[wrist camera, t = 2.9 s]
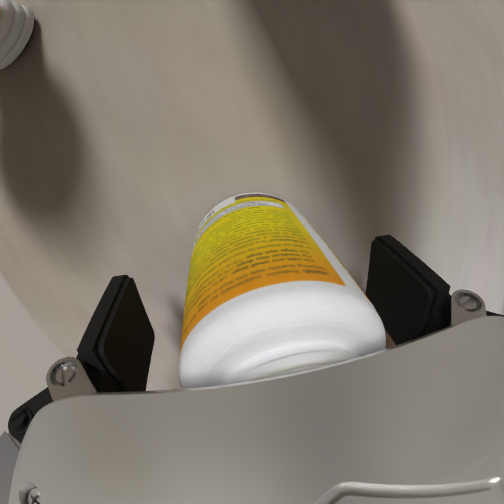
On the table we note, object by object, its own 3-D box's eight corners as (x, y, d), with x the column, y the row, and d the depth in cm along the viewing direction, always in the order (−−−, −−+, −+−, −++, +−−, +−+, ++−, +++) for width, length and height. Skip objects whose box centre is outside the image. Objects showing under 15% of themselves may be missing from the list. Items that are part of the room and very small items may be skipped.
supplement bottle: (171, 254, 13) (127, 468, 4) (245, 164, 12) (343, 330, 3) (257, 309, 15) (297, 493, 6) (329, 237, 14) (454, 404, 5)
